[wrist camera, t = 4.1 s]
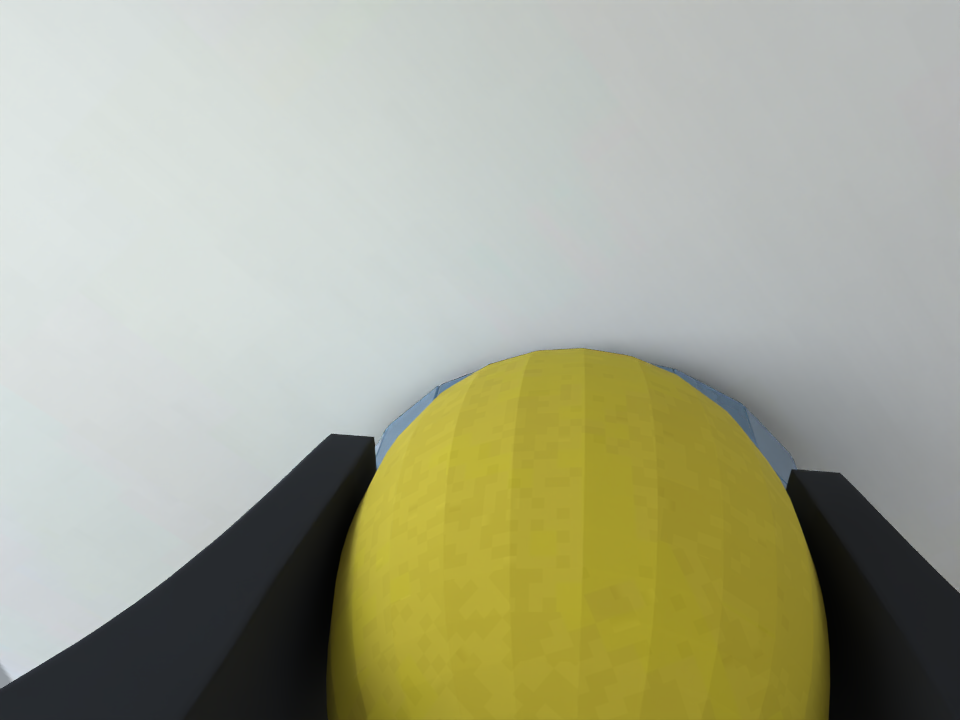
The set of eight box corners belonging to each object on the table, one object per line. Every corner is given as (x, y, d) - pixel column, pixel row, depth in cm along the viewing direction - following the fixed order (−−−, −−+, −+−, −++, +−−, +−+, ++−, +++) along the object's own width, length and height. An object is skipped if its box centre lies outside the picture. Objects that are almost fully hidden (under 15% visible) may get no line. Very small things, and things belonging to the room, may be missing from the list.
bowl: (898, 559, 22) (971, 713, 18) (558, 722, 28) (554, 870, 24) (600, 243, 19) (604, 346, 14) (276, 507, 24) (210, 637, 20)
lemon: (798, 478, 13) (1040, 1137, 6) (505, 569, 15) (435, 1151, 8) (669, 188, 11) (820, 712, 4) (343, 340, 12) (52, 874, 6)
